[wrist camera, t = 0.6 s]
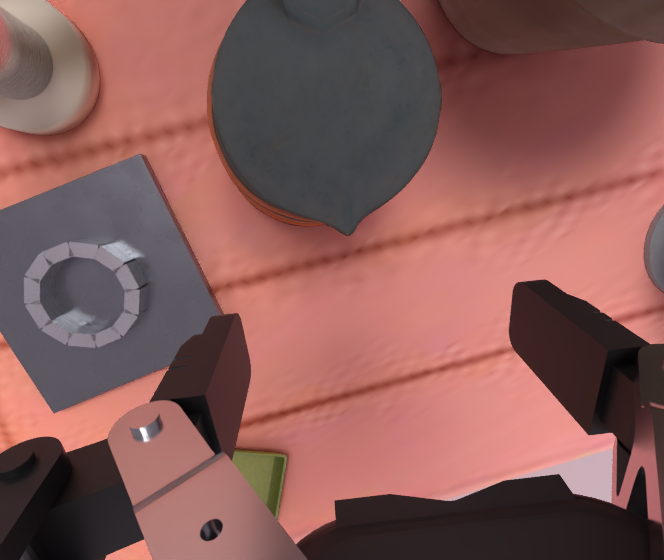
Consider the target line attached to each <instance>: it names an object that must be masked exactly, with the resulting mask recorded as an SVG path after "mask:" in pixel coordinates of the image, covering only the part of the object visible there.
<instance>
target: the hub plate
mask: <svg viewBox="0 0 664 560" xmlns="http://www.w3.org/2000/svg"><path fill="white" fill-rule="evenodd" d="M217 315H224V314H223V312H222V310H221V308H220V306H219V304H218V302H217V300H216V298H215V296H214V294H213V292H212V290H211V288H210V286H209V284H208V282H207V280H206V278H205V276H204V274H203V272H202V270H201V268H200V266H199V264H198V262H197V259H196V257H195V255H194V253H193V251H192V249H191V247H190V245H189V243H188V241H187V239H186V237H185V235H184V233H183V231H182V229H181V227H180V225H179V223H178V221H177V219H176V217H175V215H174V213H173V211H172V209H171V207H170V205H169V203H168V201H167V199H166V197H165V195H164V193H163V191H162V189H161V187H160V185H159V183H158V181H157V178H156V176H155V174H154V172H153V170H152V168H151V166H150V164H149V162H148V160H147V158H146V156H145V155H142V154H139V155H136V156H134V157H131V158H129V159H126V160H124V161H121V162H119V163H116V164H114V165H111V166H109V167H106V168H104V169H101V170H99V171H96V172H94V173H91V174H89V175H86V176H84V177H81V178H79V179H77V180H74V181H72V182H69V183H67V184H64V185H62V186H59V187H57V188H54V189H52V190H49V191H47V192H44V193H42V194H39V195H37V196H34V197H32V198H29V199H27V200H24V201H22V202H19V203H17V204H14V205H12V206H9V207H7V208H4V209H2V210H0V332H1V334H2V335H3V337H4V338H5V340H6V341H7V343H8V344H9V346H10V347H11V349H12V350H13V352H14V353H15V355H16V357H17V358H18V360H19V361H20V363H21V364H22V366H23V367H24V369H25V370H26V372H27V373H28V375H29V376H30V378H31V379H32V381H33V382H34V384H35V385H36V387H37V389H38V390H39V392H40V393H41V395H42V396H43V398H44V399H45V401H46V402H47V404H48V405H49V407H50V408H51V410H52V411H53V413H56V412H58V411H61V410H63V409H65V408H68V407H70V406H73V405H75V404H77V403H80V402H82V401H85V400H87V399H89V398H92V397H94V396H97V395H99V394H102V393H104V392H106V391H109V390H111V389H114V388H116V387H118V386H121V385H123V384H126V383H128V382H130V381H133V380H135V379H138V378H140V377H142V376H145V375H147V374H150V373H152V372H154V371H157V370H159V369H162V368H164V367H166V366H169V365H171V363H172V361H173V360H174V357H175V356H176V354H177V352H178V350H179V349H180V347H181V346H182V345H183V344H184V343H185V342H186V341H187V340H189V339H190V338H191V337H192V336H193V335H198V334H202V333H203V331H204V329H205V327H206V325H207V323H208V321H209V319H210V317H211V316H217Z"/></svg>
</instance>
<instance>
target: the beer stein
mask: <svg viewBox="0 0 664 560" xmlns="http://www.w3.org/2000/svg"><path fill="white" fill-rule="evenodd" d="M441 103H442V98H441V85H440V82H439V77H438V71H437V67H436V63H435V59H434V56H433V53H432V51H431V48H430V46H429V43H428V41H427V39H426V37H425V35H424V33H423V31H422V29H421V28H420V26H419V25H418V23H417V22H416V20H415V19H414V18H413V16H412V15H411V14H410V13H409V11H408V10H407V9H406V8H405V6H404V5H403V4H402V3H401V2H400V1H399V0H247V1H246V2H245V3H244V4H243V6H242V7H241V8H240V10H239V11H238V13H237V14H236V16H235V17H234V19H233V20H232V22H231V24H230V26H229V27H228V29H227V31H226V33H225V36H224V38H223V40H222V42H221V44H220V46H219V48H218V50H217V53H216V55H215V58H214V61H213V63H212V67H211V71H210V75H209V81H208V91H207V112H208V122H209V127H210V131H211V135H212V138H213V141H214V144H215V147H216V149H217V152H218V154H219V157H220V159H221V161H222V163H223V165H224V167H225V169H226V170H227V172H228V174H229V176H230V178H231V179H232V181H233V182H234V184H235V185H236V186H237V188H238V189H239V191H240V192H241V193H242V194H243V196H244V197H245V198H246V199H247V200H248V201H249V202H250V203H251V204H252V205H253V206H254V207H256V208H257V209H259V210H260V211H261V212H263V213H265V214H266V215H268V216H270V217H272V218H274V219H276V220H279V221H281V222H284V223H287V224H291V225H296V226H317V225H323V224H326V225H328V226H331V227H333V228H334V229H336V230H338V231H339V232H341V233H342V234H344V235H346V236H350V235H351V234H353V232H354V231H355V229H356V227H357V225H358V224H359V223H360V222H361V220H362V219H363V218H365V217H366V216H367V215H369V214H370V213H371V212H373V211H375V210H376V209H378V208H379V207H381V206H382V205H384V204H385V203H387V202H388V201H389V200H391V199H392V198H393V197H394V196H395V195H397V194H398V193H399V192H400V191H401V190H402V189H403V188H404V187H405V186H406V185H407V184H408V183H409V182H410V180H411V179H412V178H413V177H414V176H415V174H416V173H417V172H418V170H419V169H420V168H421V166H422V165H423V163H424V161H425V159H426V158H427V156H428V154H429V152H430V149H431V147H432V145H433V142H434V139H435V136H436V133H437V128H438V122H439V115H440V110H441Z"/></svg>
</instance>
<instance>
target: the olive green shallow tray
mask: <svg viewBox="0 0 664 560" xmlns="http://www.w3.org/2000/svg"><path fill="white" fill-rule="evenodd" d="M232 462H233V463H234V465H235V466H236V467H237V469H238V470H239V471H240V473H241V474H242V475H243V476H244V478H245V479H246V480H247V482H248V483H249V484H250V486H251V487H252V488H253V489H254V491H255V492H256V493H257V495H258V496H259V497H260V498H261V500H262V501H263V502H264V504H265V505H266V506H267V508H268V509H269V510H270V511H271V513H272V514H273V515H274V517H275V518H276V519H277V518H278V512H279V506H280V499H281V493H282V487H283V481H284V475H285V470H286V464H287V456H286V455H284V454H282V453H278V452H264V451H251V450H238V449H235V450H234V455H233V459H232Z"/></svg>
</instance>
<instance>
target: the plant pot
mask: <svg viewBox="0 0 664 560" xmlns="http://www.w3.org/2000/svg"><path fill="white" fill-rule="evenodd" d="M439 2H440V5H441V7H442V9H443V11H444V13H445V15H446V17H447V18H448V20H449V21H450V23H451V24H452V25H453V27H454V28H455V29H456V30H457V31H458V32H459V33H460V34H461V35H462V36H463V37H464V38H465V39H466V40H468V41H469V42H470V43H472V44H473V45H475V46H477V47H479V48H481V49H484V50H486V51H489V52H493V53H497V54H506V55H507V54H529V53H539V52H549V51H558V50H568V49H576V48H585V47H593V46H602V45H611V44H618V43H625V42H633V41H640V40H647V41H651V42H656V43H662V44H664V0H439Z"/></svg>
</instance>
